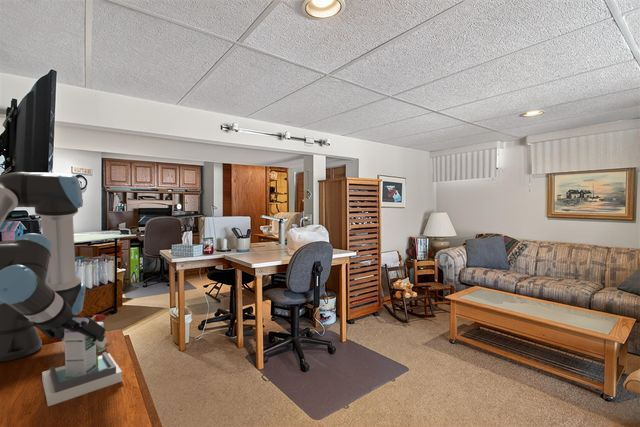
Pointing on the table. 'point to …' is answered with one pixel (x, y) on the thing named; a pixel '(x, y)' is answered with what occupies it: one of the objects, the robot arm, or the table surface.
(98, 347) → the supplement bottle
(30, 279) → the robot arm
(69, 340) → the syrup box
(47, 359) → the table surface
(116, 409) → the table surface
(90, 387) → the dock
